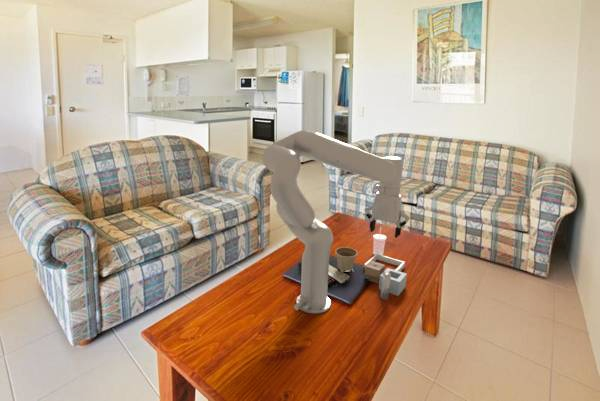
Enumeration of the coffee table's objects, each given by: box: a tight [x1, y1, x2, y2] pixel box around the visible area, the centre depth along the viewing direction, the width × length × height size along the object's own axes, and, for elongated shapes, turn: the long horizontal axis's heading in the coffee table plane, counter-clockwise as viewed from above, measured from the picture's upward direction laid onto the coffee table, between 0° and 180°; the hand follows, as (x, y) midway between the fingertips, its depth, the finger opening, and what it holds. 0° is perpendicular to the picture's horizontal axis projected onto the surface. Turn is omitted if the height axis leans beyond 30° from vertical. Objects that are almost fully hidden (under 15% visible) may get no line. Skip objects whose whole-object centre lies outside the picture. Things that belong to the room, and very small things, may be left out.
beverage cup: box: [372, 226, 387, 256], centre depth 172 cm, size 6×6×14 cm
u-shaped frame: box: [363, 254, 406, 272], centre depth 160 cm, size 13×14×2 cm
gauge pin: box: [379, 272, 391, 300], centre depth 137 cm, size 3×3×10 cm
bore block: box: [378, 267, 408, 297], centre depth 144 cm, size 8×8×6 cm
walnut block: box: [364, 261, 386, 284], centre depth 151 cm, size 6×6×6 cm
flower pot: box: [335, 246, 358, 271], centre depth 156 cm, size 9×9×9 cm
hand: (384, 233), depth 139 cm, fingers open, 9 cm apart
